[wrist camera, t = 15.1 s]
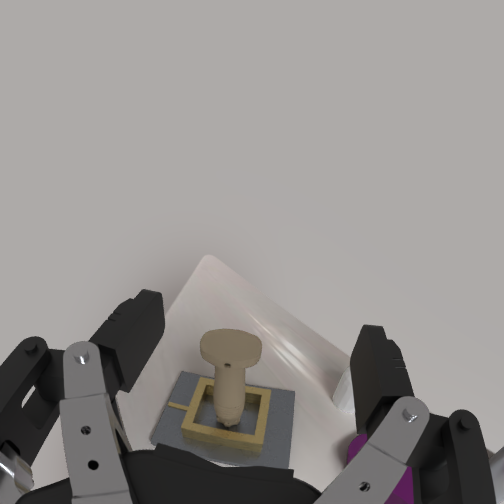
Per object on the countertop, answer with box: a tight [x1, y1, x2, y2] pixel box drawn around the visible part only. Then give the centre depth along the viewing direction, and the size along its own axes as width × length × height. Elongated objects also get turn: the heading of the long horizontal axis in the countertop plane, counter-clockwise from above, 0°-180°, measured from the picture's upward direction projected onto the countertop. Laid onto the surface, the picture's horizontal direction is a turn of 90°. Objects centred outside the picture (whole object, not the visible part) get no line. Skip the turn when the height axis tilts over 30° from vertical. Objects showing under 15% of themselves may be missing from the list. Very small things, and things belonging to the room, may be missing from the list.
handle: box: [200, 329, 262, 427], centre depth 33 cm, size 5×6×15 cm
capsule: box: [333, 366, 355, 413], centre depth 39 cm, size 5×5×8 cm
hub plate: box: [151, 371, 295, 469], centre depth 36 cm, size 18×14×4 cm
